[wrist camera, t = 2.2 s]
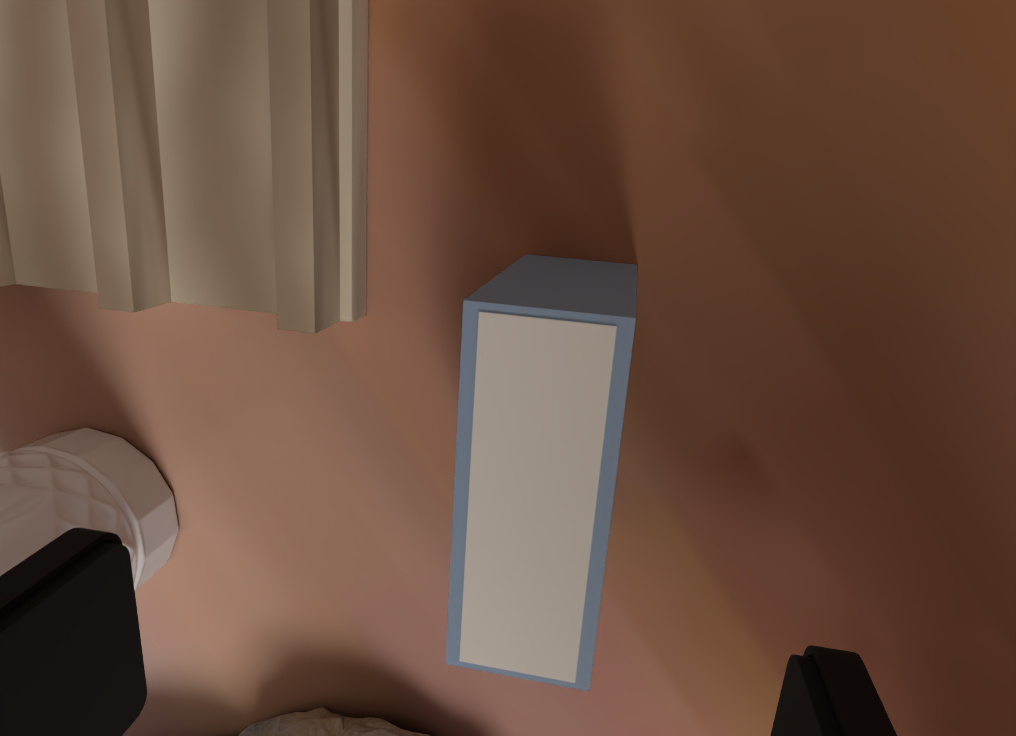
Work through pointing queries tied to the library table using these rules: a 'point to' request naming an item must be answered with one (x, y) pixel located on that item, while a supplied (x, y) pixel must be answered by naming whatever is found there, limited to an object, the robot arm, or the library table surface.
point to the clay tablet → (324, 726)
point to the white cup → (85, 498)
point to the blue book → (537, 465)
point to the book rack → (187, 153)
